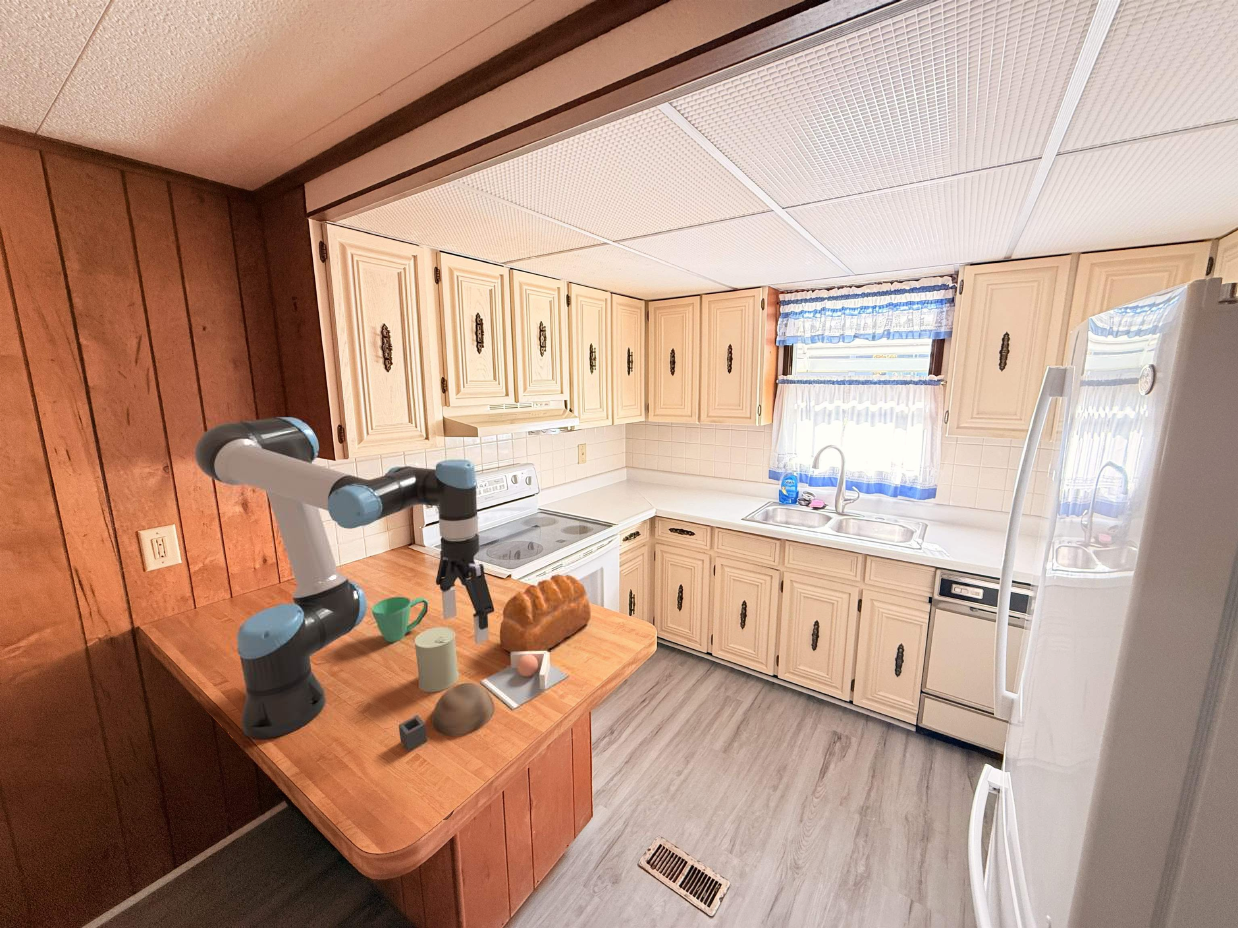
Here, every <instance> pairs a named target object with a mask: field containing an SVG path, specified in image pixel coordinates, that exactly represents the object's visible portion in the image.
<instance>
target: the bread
mask: <svg viewBox="0 0 1238 928" xmlns="http://www.w3.org/2000/svg"><path fill="white" fill-rule="evenodd" d="M591 613H592V612H591V607H590V601H589V598H588V597H587V592H586V589H585V586H584V584H583V583H581V582H580V581H579V579H577V578H576V577H574V576H573V575H570V574H566V575H562V574H559V573H557V574H554V575H552V576H551V577H550V578H549V579H543V580H541V581H538V582H537V584H536V585H535V584H530V585H529V586H528V587H527V588H526V589H525V590H524V591H523V592H520V591H518V592H517V593H516V594H515V595H513V596H512V597H510V598H509V599H508V600H507V602H506V604H505V606H504V608H503V611H502V617H503V618H502V621H501V622H500V628H499V641H500V643H499V644H500V647H501V648H502V649H504V650H506V651H508V652H510V653H511V652H519V651H547V652H548V651H549V649H551V648H553V647H555V646H556V645H557V644H559V643H561V642H563V640H564V639H566V638H567V637H570V636H571V635H573V634H575V633H576V632H578V631H579V630H580V629H581V628H582V627H584V626H585V625H586V624H587V623H589V622H590V620H591V615H592V614H591Z"/></svg>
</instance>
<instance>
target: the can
mask: <svg viewBox="0 0 1238 928" xmlns="http://www.w3.org/2000/svg"><path fill="white" fill-rule="evenodd" d="M413 642H414V647H415V648H414V649H415V655H416V663H417V664H416V665H417V674H418V687H419V688H420V689H421V691H423V692H426V693H437V692H442V691H444V690H448V689H450V688H452V687H453V686H455V684H456V683H457V682H458V680H459V678H460V677H459V676H460V673H459V669H458V657H457V650H456V648H457V647H456V632H455V630H454V629H453V628H450V627H447V626H436V627H432V628H429V629H426V630H424V631H421V633H418V635H417V636H416V637H415V638H414V641H413Z"/></svg>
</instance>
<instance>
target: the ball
mask: <svg viewBox="0 0 1238 928" xmlns="http://www.w3.org/2000/svg"><path fill="white" fill-rule="evenodd" d="M537 668H538V662H537V659H536V658H535V657H534V656H532V655H529V654H528V655H524V656H522V657H521V658H520V659H519V661H518V663H517V669H518V672H519V673H520V674H521V675H522V676H525V677H528V676H531V675H533V674H534V673H535V672H536V670H537Z"/></svg>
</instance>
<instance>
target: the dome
mask: <svg viewBox="0 0 1238 928" xmlns="http://www.w3.org/2000/svg"><path fill="white" fill-rule="evenodd" d="M494 713H495V703H494V700H493V698H492V696H491V694H490V692H488V690H487V689H486V688H485V687H484V686H481V685H479V684H476V683H472V682H465V683H460V684H456V685H453V686H451V687H449V688H448V689H447V690H446V691H445V692H444V693H443V694H442V695H441V697H440V698H439V699H438V701H437V703H436V704H435V706H434V709H433V714H432V726H433V728H434V729H435V732H437V733H439V734H441V735H443V736H448V737H459V736H464V735H469V734H471V733H473V732H476V731H477V730H479V729H481V728H482V727H484V726H485V725H486V724H487V723H488V722H489V721H490V720H491V718H492V717H493V715H494Z"/></svg>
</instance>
